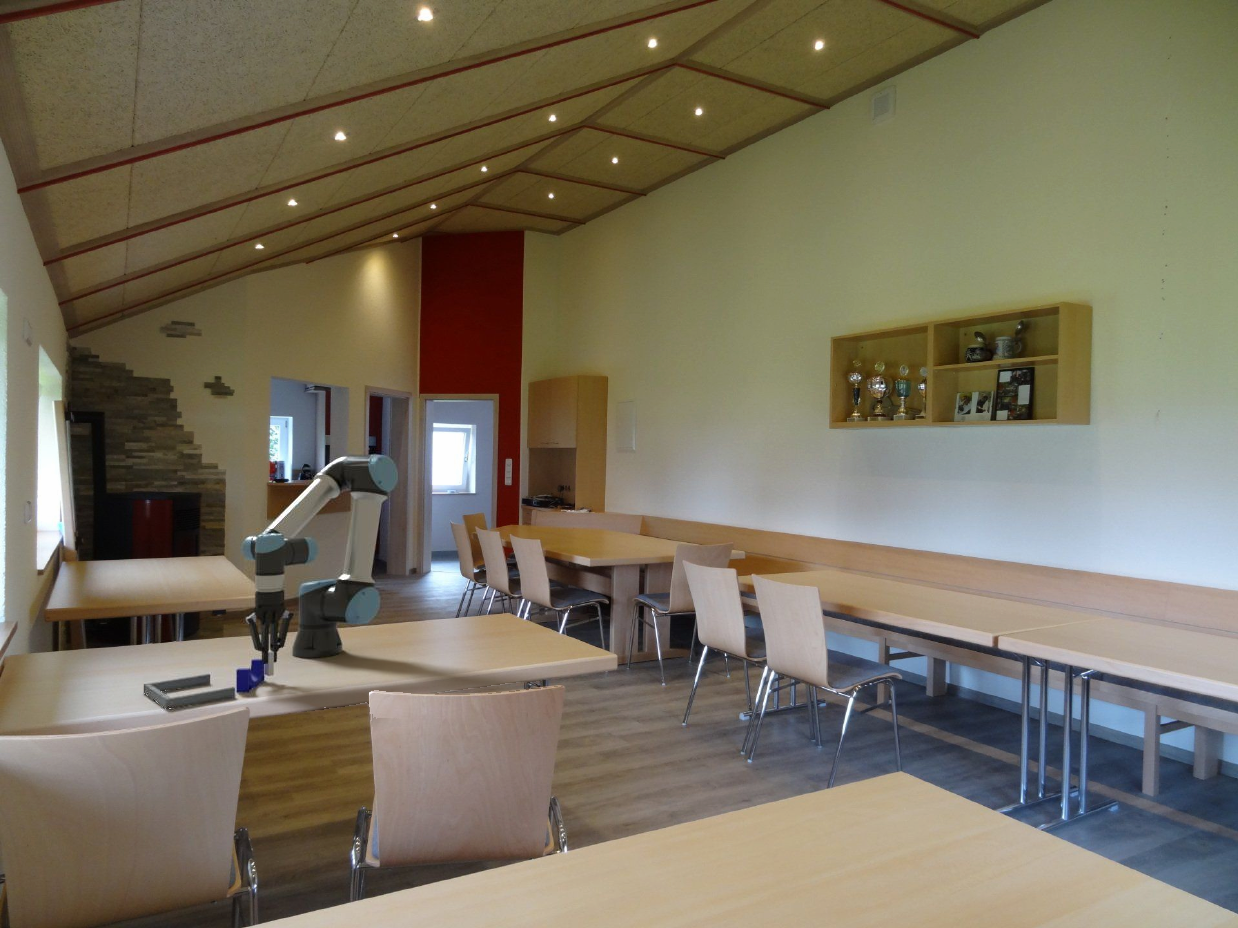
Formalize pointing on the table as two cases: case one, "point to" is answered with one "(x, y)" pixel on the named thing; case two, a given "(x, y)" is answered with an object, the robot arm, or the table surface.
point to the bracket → (155, 693)
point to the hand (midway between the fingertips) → (269, 674)
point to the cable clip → (250, 676)
